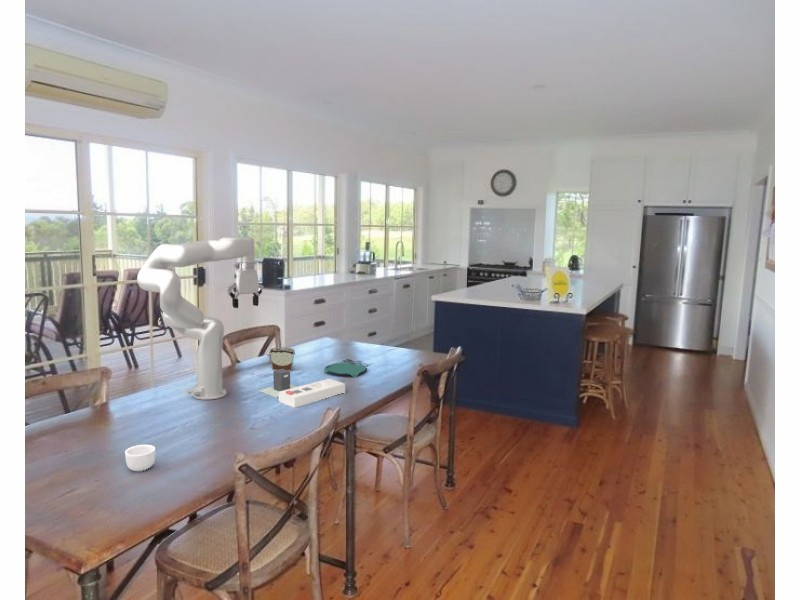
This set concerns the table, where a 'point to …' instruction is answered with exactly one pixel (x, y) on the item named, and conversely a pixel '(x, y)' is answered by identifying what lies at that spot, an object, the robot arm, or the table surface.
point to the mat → (273, 391)
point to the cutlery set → (345, 368)
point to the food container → (282, 358)
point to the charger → (281, 380)
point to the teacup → (140, 457)
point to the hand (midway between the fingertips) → (245, 306)
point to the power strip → (311, 392)
